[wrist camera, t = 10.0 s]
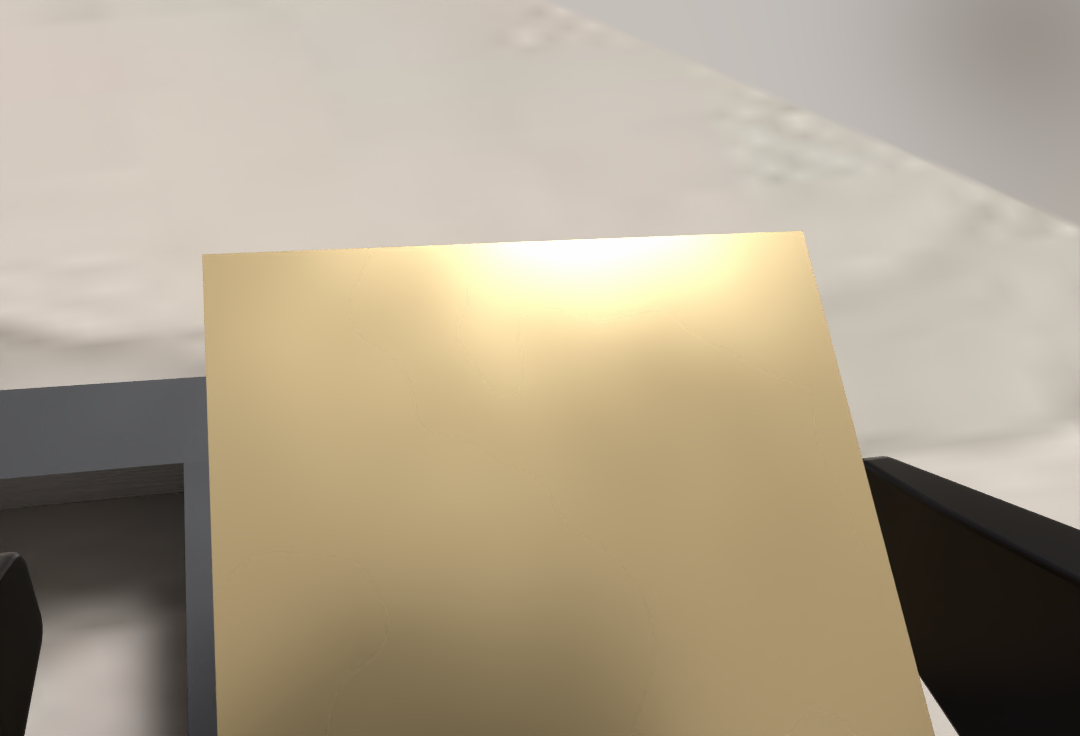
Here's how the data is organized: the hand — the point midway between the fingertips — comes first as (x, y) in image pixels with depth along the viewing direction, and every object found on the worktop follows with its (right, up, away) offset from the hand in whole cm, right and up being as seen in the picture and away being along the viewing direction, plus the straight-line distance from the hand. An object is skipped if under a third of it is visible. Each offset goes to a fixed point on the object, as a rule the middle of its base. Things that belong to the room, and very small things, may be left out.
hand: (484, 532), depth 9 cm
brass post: (-2, -3, +7) cm, 8 cm away
